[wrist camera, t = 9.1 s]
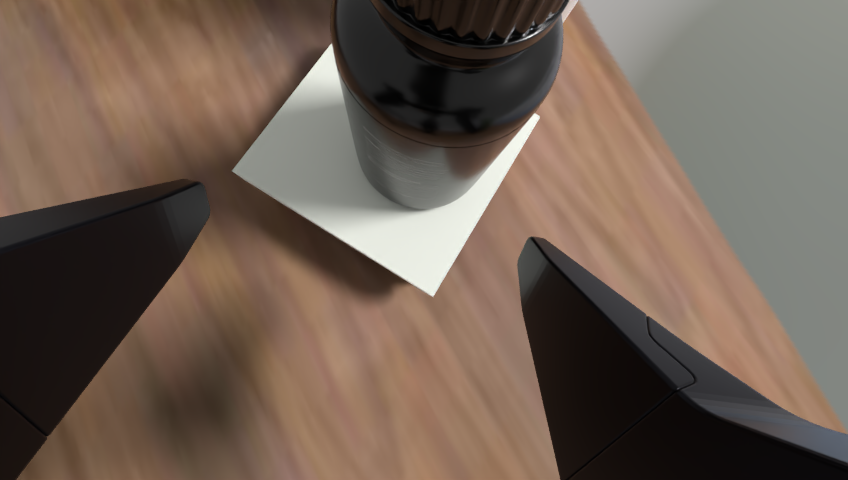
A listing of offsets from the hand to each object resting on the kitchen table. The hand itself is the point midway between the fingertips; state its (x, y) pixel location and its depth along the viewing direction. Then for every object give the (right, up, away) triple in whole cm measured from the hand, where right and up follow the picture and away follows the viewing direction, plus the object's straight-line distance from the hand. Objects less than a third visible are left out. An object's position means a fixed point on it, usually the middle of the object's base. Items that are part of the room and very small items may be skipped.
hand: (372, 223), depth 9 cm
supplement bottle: (+1, +4, +9) cm, 10 cm away
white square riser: (-1, +4, +12) cm, 13 cm away
